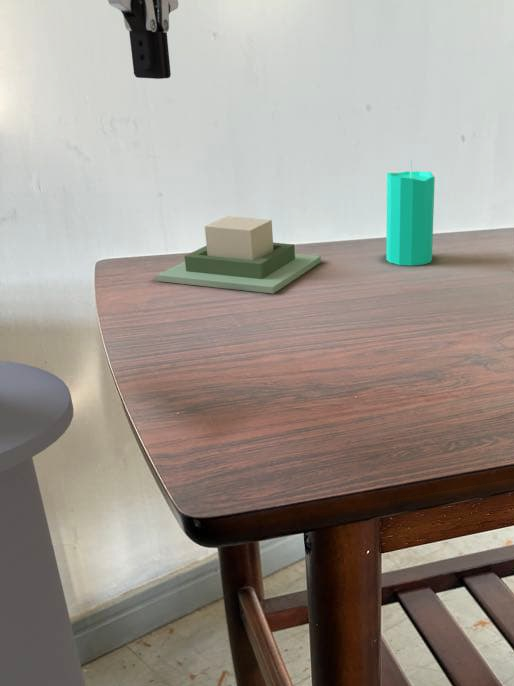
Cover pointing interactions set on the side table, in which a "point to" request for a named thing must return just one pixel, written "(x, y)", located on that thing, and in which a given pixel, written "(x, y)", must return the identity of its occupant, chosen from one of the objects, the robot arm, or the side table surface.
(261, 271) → the base pad
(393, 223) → the candle
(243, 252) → the beige cube block
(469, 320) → the side table surface
